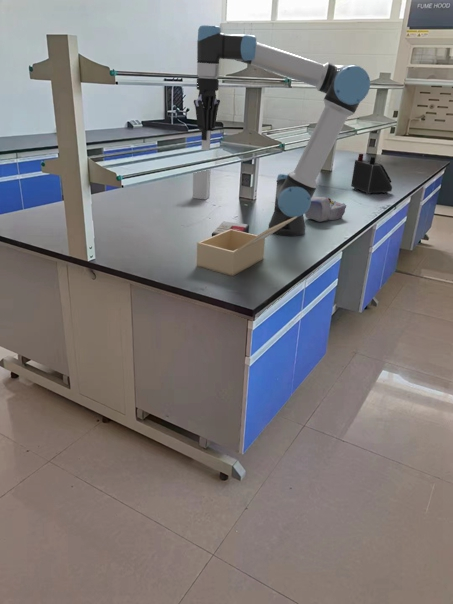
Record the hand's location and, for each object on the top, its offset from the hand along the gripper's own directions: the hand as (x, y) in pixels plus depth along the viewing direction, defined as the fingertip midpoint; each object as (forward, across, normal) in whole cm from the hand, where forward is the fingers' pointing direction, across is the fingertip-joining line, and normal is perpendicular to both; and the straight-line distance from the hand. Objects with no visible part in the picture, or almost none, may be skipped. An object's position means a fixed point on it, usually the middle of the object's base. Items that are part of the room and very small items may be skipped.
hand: (205, 149), depth 176 cm
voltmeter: (+33, -132, +24) cm, 138 cm away
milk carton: (+33, -50, -37) cm, 71 cm away
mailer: (+32, +18, +24) cm, 44 cm away
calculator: (+33, -6, +9) cm, 35 cm away
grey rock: (+33, -58, +26) cm, 72 cm away
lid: (+20, +18, +36) cm, 45 cm away
